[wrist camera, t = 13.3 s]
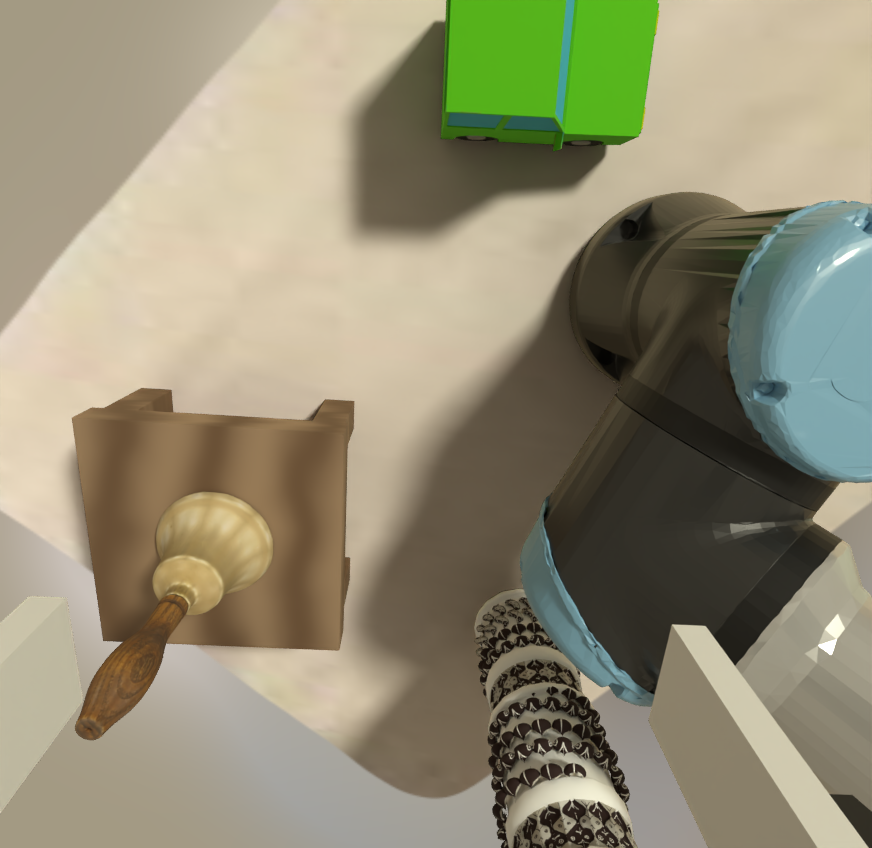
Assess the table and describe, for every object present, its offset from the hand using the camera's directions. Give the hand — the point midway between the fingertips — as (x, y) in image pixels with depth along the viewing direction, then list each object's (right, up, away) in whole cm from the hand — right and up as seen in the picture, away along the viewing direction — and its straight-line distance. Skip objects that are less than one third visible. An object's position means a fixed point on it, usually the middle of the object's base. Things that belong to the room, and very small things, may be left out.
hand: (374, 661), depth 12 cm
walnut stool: (-15, -1, +36) cm, 39 cm away
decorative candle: (+9, -14, +42) cm, 45 cm away
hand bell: (-15, -3, +28) cm, 32 cm away
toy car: (+8, +30, +27) cm, 41 cm away
